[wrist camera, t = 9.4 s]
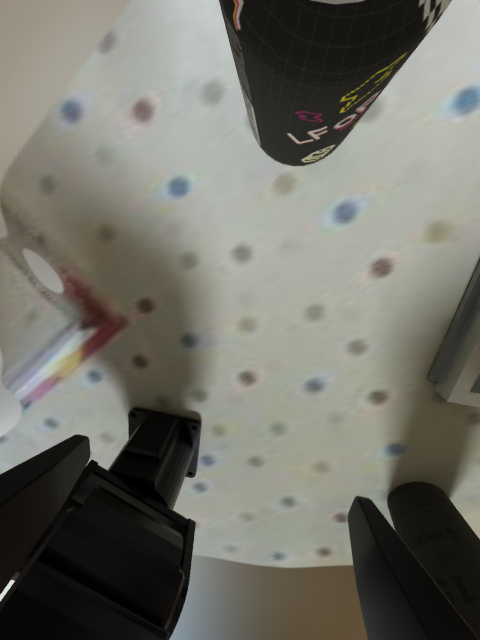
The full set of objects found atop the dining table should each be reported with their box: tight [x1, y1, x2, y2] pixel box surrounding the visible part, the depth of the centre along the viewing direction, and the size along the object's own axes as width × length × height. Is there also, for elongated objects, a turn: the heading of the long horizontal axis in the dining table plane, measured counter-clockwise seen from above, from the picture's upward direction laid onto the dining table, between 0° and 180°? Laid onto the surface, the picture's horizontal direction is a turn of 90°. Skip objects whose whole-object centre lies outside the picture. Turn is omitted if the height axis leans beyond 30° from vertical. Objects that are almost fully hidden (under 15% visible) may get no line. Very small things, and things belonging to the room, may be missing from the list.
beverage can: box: [219, 0, 452, 166], centre depth 9 cm, size 6×6×12 cm
